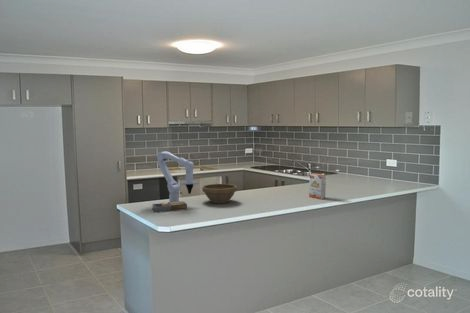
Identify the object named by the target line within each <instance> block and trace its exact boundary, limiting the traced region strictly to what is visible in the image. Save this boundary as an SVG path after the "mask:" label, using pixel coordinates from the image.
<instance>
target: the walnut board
mask: <svg viewBox="0 0 470 313" xmlns="http://www.w3.org/2000/svg"><path fill="white" fill-rule="evenodd" d="M167 203H168V204H170V205H171V211H184V210H188V204H187V203H186V202H185V201H183V200H179V201H177V202H169V201H168V202H167Z"/></svg>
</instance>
